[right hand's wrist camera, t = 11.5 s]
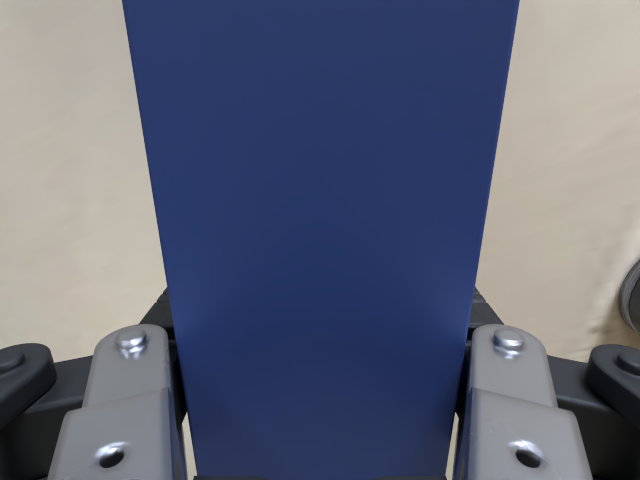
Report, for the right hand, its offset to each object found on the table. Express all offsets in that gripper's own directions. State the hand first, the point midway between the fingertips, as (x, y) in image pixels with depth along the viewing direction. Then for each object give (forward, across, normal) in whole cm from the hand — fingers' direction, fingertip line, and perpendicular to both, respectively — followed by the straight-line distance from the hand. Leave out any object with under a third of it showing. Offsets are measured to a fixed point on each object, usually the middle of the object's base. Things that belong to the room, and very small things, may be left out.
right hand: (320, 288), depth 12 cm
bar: (+4, 0, -10) cm, 11 cm away
